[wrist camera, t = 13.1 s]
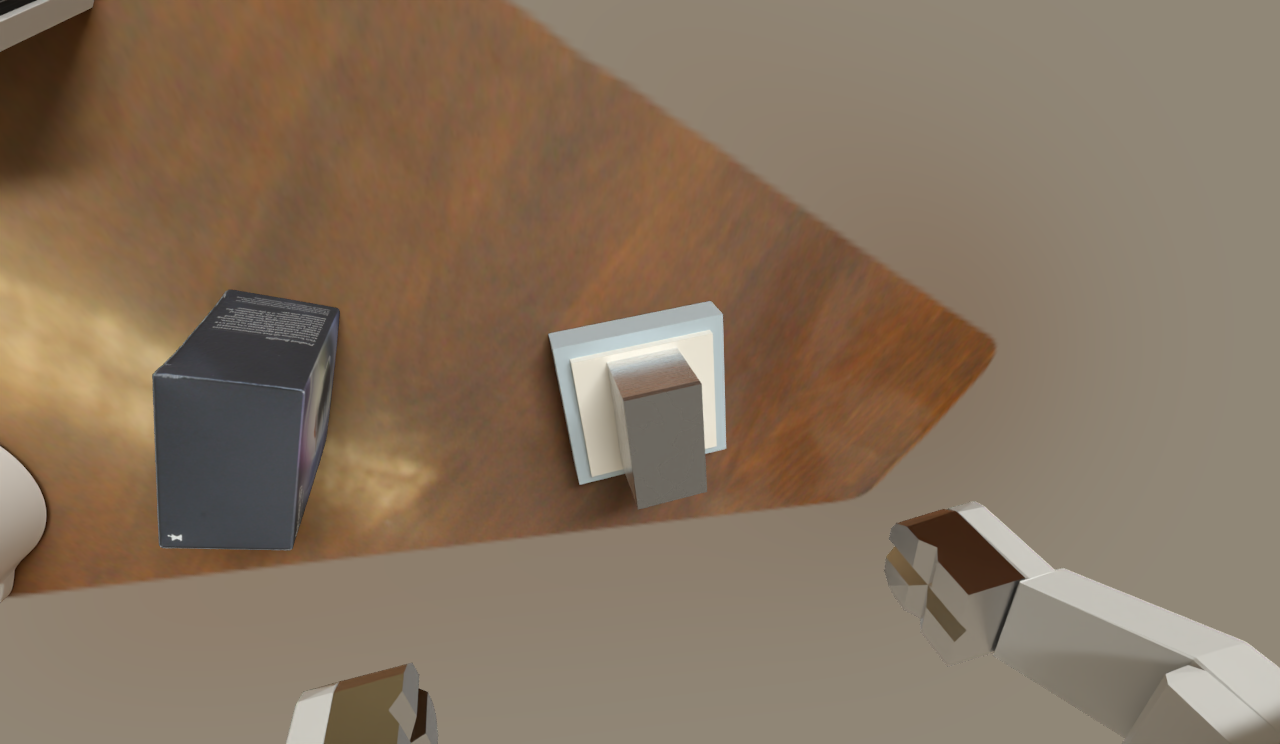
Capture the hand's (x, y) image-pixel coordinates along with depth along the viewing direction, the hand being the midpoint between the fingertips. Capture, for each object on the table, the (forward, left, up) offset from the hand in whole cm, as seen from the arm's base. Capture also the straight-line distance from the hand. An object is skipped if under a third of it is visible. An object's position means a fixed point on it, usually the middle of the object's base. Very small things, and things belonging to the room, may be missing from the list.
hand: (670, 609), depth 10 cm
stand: (+6, -16, -31) cm, 35 cm away
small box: (-17, -9, -31) cm, 37 cm away
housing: (+6, -16, -28) cm, 33 cm away
